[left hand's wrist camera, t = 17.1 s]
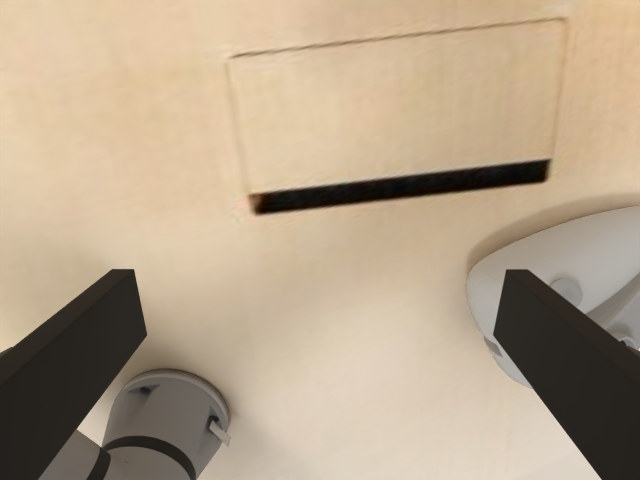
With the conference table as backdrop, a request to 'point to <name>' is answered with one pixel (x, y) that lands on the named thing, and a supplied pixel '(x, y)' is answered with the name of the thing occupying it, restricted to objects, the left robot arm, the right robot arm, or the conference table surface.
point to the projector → (569, 275)
